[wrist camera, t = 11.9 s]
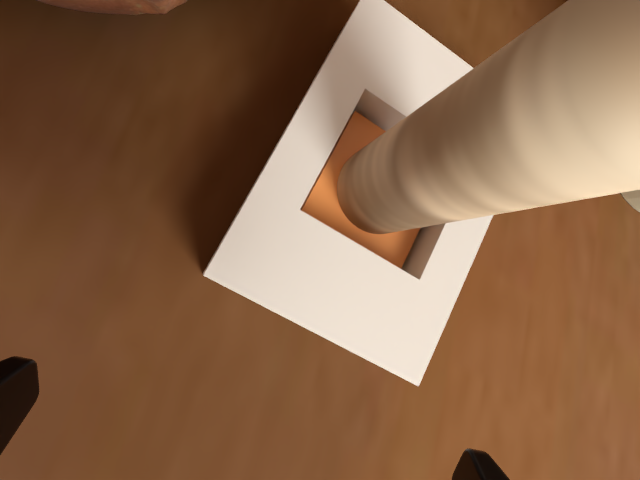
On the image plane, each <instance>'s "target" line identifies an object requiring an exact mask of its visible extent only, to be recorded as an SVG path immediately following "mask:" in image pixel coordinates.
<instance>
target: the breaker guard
mask: <svg viewBox="0 0 640 480" xmlns="http://www.w3.org/2000/svg"><path fill="white" fill-rule="evenodd" d="M472 69H474V68H473V67H471V66H470V65H469V64H467V63H466V62H465V61H463V60H462V59H461V58H459V57H458V56H457V55H455V54H454V53H453V52H451V51H450V50H449V49H448V48H446V47H445V46H444V45H442V44H441V43H440V42H438V41H437V40H436V39H434V38H433V37H432V36H430V35H429V34H428V33H426V32H425V31H424V30H422V29H421V28H420V27H418V26H417V25H416V24H414V23H413V22H412V21H410V20H409V19H408V18H407V17H405V16H404V15H403V14H401V13H400V12H399V11H397V10H396V9H395V8H393V7H392V6H391V5H389V4H388V3H387V2H385V1H384V0H360V1H359V3H358V4H357V6H356V7H355V9H354V11H353V12H352V14H351V16H350V17H349V19H348V21H347V22H346V24H345V26H344V27H343V29H342V31H341V33H340V34H339V36H338V38H337V40H336V41H335V43H334V45H333V47H332V48H331V50H330V52H329V54H328V55H327V57H326V59H325V61H324V62H323V64H322V66H321V68H320V69H319V71H318V73H317V75H316V76H315V78H314V80H313V82H312V83H311V85H310V87H309V89H308V90H307V92H306V94H305V96H304V97H303V99H302V101H301V103H300V104H299V106H298V108H297V110H296V111H295V113H294V115H293V117H292V118H291V120H290V122H289V124H288V125H287V127H286V129H285V131H284V132H283V134H282V136H281V138H280V139H279V141H278V143H277V145H276V146H275V148H274V150H273V152H272V153H271V155H270V157H269V159H268V160H267V162H266V164H265V166H264V167H263V169H262V171H261V173H260V174H259V176H258V178H257V180H256V181H255V183H254V185H253V186H252V188H251V190H250V192H249V193H248V195H247V197H246V199H245V200H244V202H243V204H242V206H241V207H240V209H239V211H238V213H237V214H236V216H235V218H234V220H233V221H232V223H231V225H230V227H229V228H228V230H227V232H226V234H225V235H224V237H223V239H222V241H221V242H220V244H219V246H218V248H217V249H216V251H215V253H214V255H213V256H212V258H211V260H210V262H209V263H208V265H207V267H206V269H205V270H204V272H203V276H205V277H207V278H209V279H211V280H213V281H215V282H217V283H219V284H221V285H223V286H225V287H227V288H229V289H231V290H233V291H234V292H236V293H238V294H240V295H242V296H244V297H246V298H248V299H250V300H252V301H254V302H256V303H258V304H260V305H262V306H264V307H265V308H267V309H269V310H271V311H273V312H275V313H277V314H279V315H281V316H283V317H285V318H287V319H289V320H291V321H293V322H295V323H296V324H298V325H300V326H302V327H304V328H306V329H308V330H310V331H312V332H314V333H316V334H318V335H320V336H322V337H324V338H326V339H327V340H329V341H331V342H333V343H335V344H337V345H339V346H341V347H343V348H345V349H347V350H349V351H351V352H353V353H355V354H357V355H359V356H360V357H362V358H364V359H366V360H368V361H370V362H372V363H374V364H376V365H378V366H380V367H382V368H384V369H386V370H388V371H390V372H391V373H393V374H395V375H397V376H399V377H401V378H403V379H405V380H407V381H409V382H411V383H413V384H415V385H417V386H419V384H420V382H421V380H422V377H423V375H424V373H425V370H426V368H427V366H428V364H429V361H430V359H431V357H432V354H433V352H434V350H435V348H436V345H437V343H438V341H439V338H440V336H441V334H442V331H443V329H444V327H445V325H446V322H447V320H448V318H449V315H450V313H451V311H452V309H453V306H454V304H455V302H456V299H457V297H458V295H459V292H460V290H461V288H462V286H463V283H464V281H465V279H466V276H467V274H468V272H469V270H470V267H471V265H472V263H473V260H474V258H475V256H476V253H477V251H478V249H479V247H480V244H481V242H482V240H483V237H484V235H485V233H486V231H487V228H488V226H489V224H490V221H491V219H492V217H493V215H490V216H484V217H478V218H473V219H467V220H461V221H455V222H450V223H444V224H438V225H432V226H427V227H421V228H420V230H419V232H418V234H417V236H416V238H415V241H414V243H413V245H412V247H411V249H410V251H409V253H408V255H407V257H406V260H405V262H404V264H403V266H402V268H401V269H400V268H398V267H397V266H395V265H393V264H392V263H390V262H388V261H387V260H385V259H383V258H381V257H380V256H378V255H376V254H375V253H373V252H371V251H370V250H368V249H366V248H364V247H363V246H361V245H359V244H358V243H356V242H354V241H352V240H351V239H349V238H347V237H346V236H344V235H342V234H341V233H339V232H337V231H335V230H334V229H332V228H330V227H329V226H327V225H325V224H324V223H322V222H320V221H318V220H317V219H315V218H313V217H312V216H310V215H308V214H307V213H305V212H303V211H301V210H300V209H301V207H302V205H303V203H304V201H305V199H306V197H307V196H308V194H309V192H310V190H311V188H312V186H313V184H314V183H315V181H316V179H317V177H318V175H319V173H320V172H321V170H322V168H323V166H324V164H325V162H326V160H327V159H328V157H329V155H330V153H331V151H332V149H333V147H334V146H335V144H336V142H337V140H338V138H339V136H340V134H341V133H342V131H343V129H344V127H345V125H346V123H347V121H348V120H349V118H350V116H351V115H352V114H353V113H354V112H355V111H356V112H358V113H359V114H361V115H362V116H364V117H365V118H367V119H368V120H370V121H371V122H373V123H374V124H376V125H377V126H379V127H380V128H382V129H383V130H385V131H387V130H389V129H390V128H392V127H393V126H394V125H396V124H397V123H398V122H400V121H401V120H403V119H404V118H405V117H407V116H408V115H410V114H411V113H412V112H414V111H415V110H417V109H418V108H419V107H421V106H422V105H424V104H425V103H426V102H428V101H429V100H430V99H432V98H433V97H435V96H436V95H437V94H439V93H440V92H442V91H443V90H444V89H446V88H447V87H449V86H450V85H451V84H453V83H454V82H455V81H457V80H458V79H460V78H461V77H462V76H464V75H465V74H467V73H468V72H469V71H471V70H472Z"/></svg>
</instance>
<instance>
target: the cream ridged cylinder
mask: <svg viewBox="0 0 640 480" xmlns="http://www.w3.org/2000/svg"><path fill="white" fill-rule="evenodd" d="M634 190H640V0H568V1H567V2H565V3H564V4H563V5H561V6H560V7H558V8H557V9H556V10H554V11H553V12H551V13H550V14H549V15H547V16H546V17H544V18H543V19H542V20H540V21H539V22H538V23H536V24H535V25H533V26H532V27H531V28H529V29H528V30H526V31H525V32H524V33H522V34H521V35H519V36H518V37H517V38H515V39H514V40H512V41H511V42H510V43H508V44H507V45H506V46H504V47H503V48H501V49H500V50H499V51H497V52H496V53H494V54H493V55H492V56H490V57H489V58H487V59H486V60H485V61H483V62H482V63H481V64H479V65H478V66H476V67H475V68H474V69H472V70H471V71H469V72H468V73H467V74H465V75H464V76H462V77H461V78H460V79H458V80H457V81H455V82H454V83H453V84H451V85H450V86H449V87H447V88H446V89H444V90H443V91H442V92H440V93H439V94H437V95H436V96H435V97H433V98H432V99H430V100H429V101H428V102H426V103H425V104H424V105H422V106H421V107H419V108H418V109H417V110H415V111H414V112H412V113H411V114H410V115H408V116H407V117H405V118H404V119H403V120H401V121H400V122H398V123H397V124H396V125H394V126H393V127H392V128H390V129H389V130H387V131H386V132H385V133H383V134H382V135H380V136H379V137H378V138H376V139H375V140H373V141H372V142H371V143H369V144H368V145H367V146H365V147H364V148H362V149H361V150H360V151H358V152H357V153H355V154H354V155H353V156H351V157H350V158H349V159H348V160H347V161H346V163H345V164H344V165H343V167H342V169H341V171H340V174H339V177H338V181H337V196H338V201H339V204H340V207H341V209H342V211H343V213H344V214H345V216H346V217H347V218H348V220H349V221H350V222H351V223H352V224H353V225H355V226H356V227H357V228H359V229H361V230H363V231H365V232H368V233H372V234H386V233H392V232H398V231H404V230H409V229H415V228H421V227H427V226H432V225H438V224H444V223H450V222H455V221H461V220H467V219H473V218H478V217H484V216H490V215H496V214H501V213H507V212H513V211H519V210H525V209H530V208H536V207H542V206H548V205H553V204H559V203H565V202H571V201H576V200H582V199H588V198H594V197H599V196H605V195H611V194H617V193H622V192H628V191H634Z"/></svg>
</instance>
